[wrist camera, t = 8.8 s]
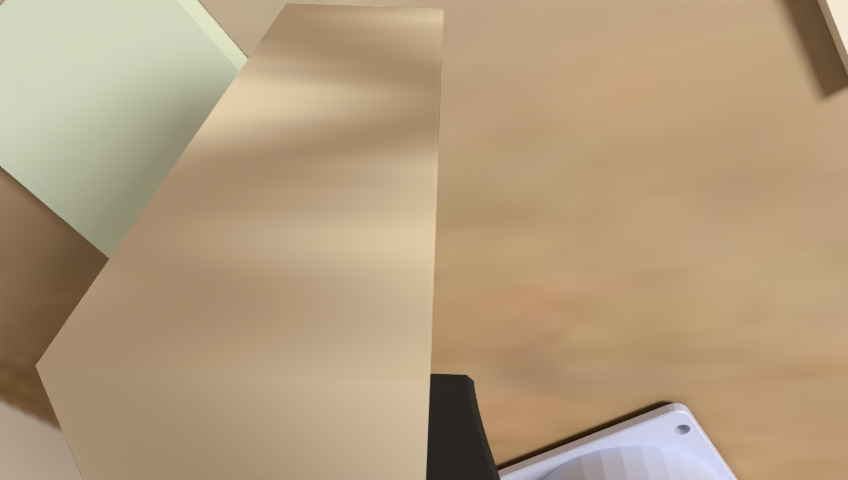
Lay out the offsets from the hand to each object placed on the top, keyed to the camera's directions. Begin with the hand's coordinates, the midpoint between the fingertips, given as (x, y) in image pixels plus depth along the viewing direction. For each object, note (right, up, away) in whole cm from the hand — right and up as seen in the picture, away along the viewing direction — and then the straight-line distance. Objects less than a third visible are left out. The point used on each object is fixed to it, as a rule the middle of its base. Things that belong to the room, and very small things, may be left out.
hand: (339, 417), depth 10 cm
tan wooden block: (0, +3, +3) cm, 4 cm away
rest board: (-5, +4, +9) cm, 11 cm away
